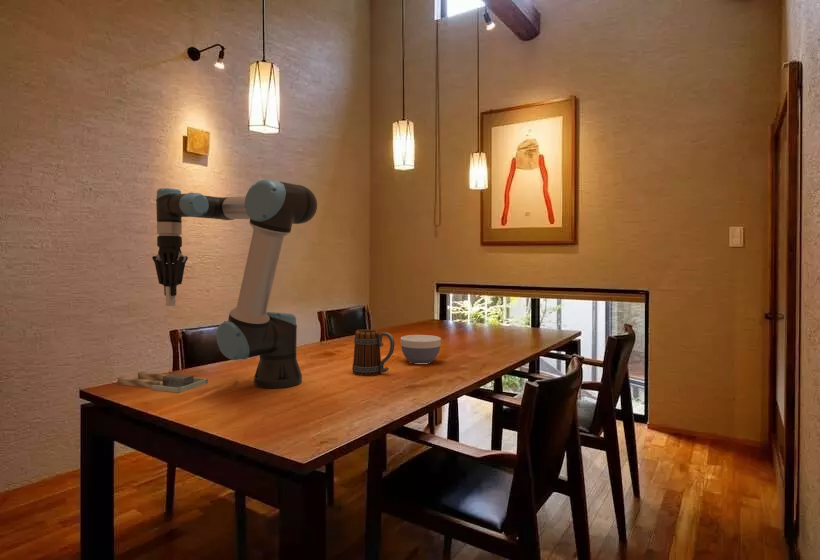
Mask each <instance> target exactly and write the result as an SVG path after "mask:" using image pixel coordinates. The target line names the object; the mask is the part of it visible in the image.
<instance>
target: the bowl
mask: <svg viewBox="0 0 820 560" xmlns="http://www.w3.org/2000/svg"><path fill="white" fill-rule="evenodd" d="M441 343H442V338H441V337H439V336H436V335H431V334H430V335H429V334H428V335H427V334H410V335H404V336H401V337H400V347H401V352H402V354H403V355H404V358H405V359H406V360H408V362H409V363H410V362H411V363H410V364H412V363H429V362H432V363H433V361H434V360H435V359H436V358H437V357H438V354H439V353H440V351H441V350H440V349H441Z"/></svg>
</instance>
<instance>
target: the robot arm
mask: <svg viewBox="0 0 820 560" xmlns="http://www.w3.org/2000/svg"><path fill="white" fill-rule="evenodd" d="M155 202H156V203H155V206H156V207H155V208H156V234H157V237H156V245H157V247H158V248H159V249H158V251H157V254H156V255H153V256H152V261H153V262H154V266H155V270H156V275H157V280H158V284H159V285H163V293H164V295H163V296H165V307H172V306H176V296H177V286H179V285H182V283H183V277H184V272H185V266H186V263H187V260H188V258H189V257H188V256H187V255H183V253H182V250H181V248H182V247H183V237H182V236H181V235H183V234H182V233H183V232H182V231H183V230H182V223H183V222H182V220H183V218H200V219H214V220H223V221H234V220H249V225H250V226H251V228H252V229H253V232H252V234H251V235H252V236H251V240H250V243H249V248H248V254H247V258H246V264H245V267H244V271H243V276H242V281H241V285H240V288H239V289H240V290H239V295H238V299H237V302H236V307H234V308H232V309H231V310H230V311H229V314H228V318H227V321H223V322H222V323H220V324H219V325H218V327H217V330H216V335H215V337H216V338H215V339H216V343H217V346H218V348H219V350H220V351H219V352H221V354H222V355H223V356H224V357H226V358H227V359H229V360H232V361H238V360H246V359H248V358H252V357H259V361H258V364H257V367H256V370H255V373H254V377H253V384H254V386H255V387H258V388H263V389H283V388H289V387H295V386H297V385H300V384H301V383H302V382H303V375H302V374H303V373H302V371H301V369H300V365H299V363H298V360H297V358H298V357H297V340H298V339H297V333H298V332H297V331H298V330H297V328H298V325H297V318H296V316H295V314H293V313H286V312H274V311H272V312H271V311H267V310H268V306H269V302H270V297H271V294H272V293H271V292H272V289H273V284H274V280H275V277H276V275H275V274H276V271H277V267H278V263H279V259H280V254H281V251H282V245H283V242H284V237H286V236H287V235H289V234H291V231H292V227H293V224H294V225H295V224H296V225H301V224H306V223H308V222H309V221H310V220H312V219H313V218H314V217H315V215H316V213H317V210H318V200H317V197H316V196H315V193H314V192H313V191H312V190H311V189H309V188H308V187H307V186H304V185H301V184H295V183H292V182H291V183H290V182H286V181H280V180H275V179H260V180H257V181H256V182H254V183H253V184H252V185H251V186H250V187H249V189H248V190H247V192H246V195H244V196H225V197H220V196H219V197H218V196H210V195H204V194H202V193H200V192H188V193H186V192H185V193H182V191H181V190H180V189H179V188H177V189H176V188H171V187H169V188H168V187H166V188H158V189H157V191H156V198H155Z"/></svg>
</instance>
